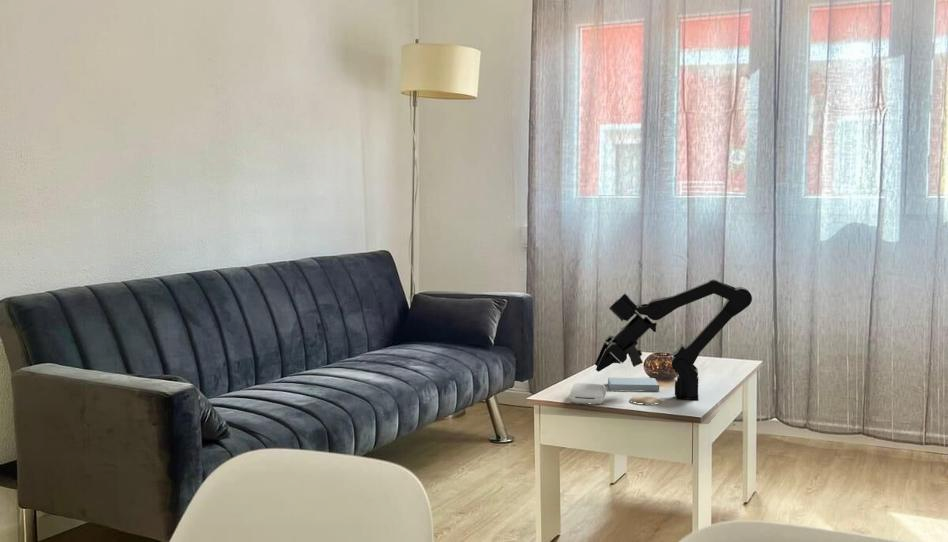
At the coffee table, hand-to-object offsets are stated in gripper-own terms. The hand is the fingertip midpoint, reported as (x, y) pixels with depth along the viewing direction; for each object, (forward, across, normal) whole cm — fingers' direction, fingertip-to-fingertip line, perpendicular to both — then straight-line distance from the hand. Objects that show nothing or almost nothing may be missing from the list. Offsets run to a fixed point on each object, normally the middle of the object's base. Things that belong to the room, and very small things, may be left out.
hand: (596, 368), depth 282 cm
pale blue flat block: (-2, +12, -14) cm, 19 cm away
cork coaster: (-4, -9, -16) cm, 19 cm away
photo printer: (+6, -3, -3) cm, 7 cm away
